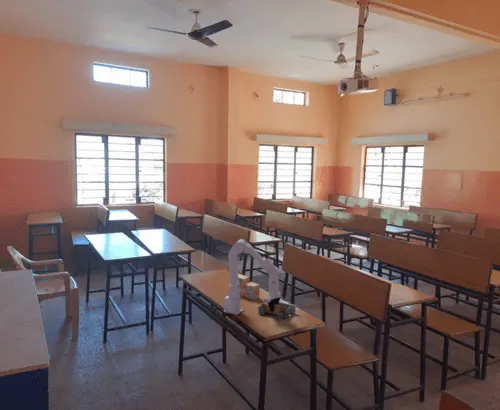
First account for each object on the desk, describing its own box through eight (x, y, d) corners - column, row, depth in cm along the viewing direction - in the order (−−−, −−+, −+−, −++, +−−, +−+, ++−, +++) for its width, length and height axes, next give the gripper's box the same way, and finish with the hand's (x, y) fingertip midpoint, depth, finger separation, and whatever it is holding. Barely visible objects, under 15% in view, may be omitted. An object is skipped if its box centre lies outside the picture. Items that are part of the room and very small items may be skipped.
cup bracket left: (258, 313, 230) (258, 307, 229) (263, 309, 236) (263, 303, 235) (264, 315, 228) (264, 308, 227) (269, 311, 234) (269, 304, 233)
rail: (261, 311, 230) (261, 303, 230) (264, 309, 234) (264, 301, 233) (283, 316, 223) (283, 308, 223) (285, 314, 227) (285, 306, 226)
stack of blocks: (259, 298, 256) (259, 280, 254) (252, 300, 251) (253, 282, 250) (237, 290, 270) (237, 273, 269) (230, 292, 266) (230, 274, 264)
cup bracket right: (288, 315, 228) (289, 309, 227) (283, 319, 222) (283, 313, 221) (282, 314, 230) (282, 307, 229) (277, 318, 224) (277, 311, 223)
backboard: (260, 308, 237) (260, 301, 236) (264, 306, 241) (264, 298, 241) (292, 316, 226) (292, 308, 226) (295, 313, 231) (295, 305, 230)
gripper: (274, 292, 218) (274, 315, 220) (285, 285, 231) (284, 307, 233) (263, 290, 222) (263, 313, 224) (274, 283, 234) (274, 304, 236)
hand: (273, 310), depth 228 cm, fingers closed on rail, 4 cm apart
